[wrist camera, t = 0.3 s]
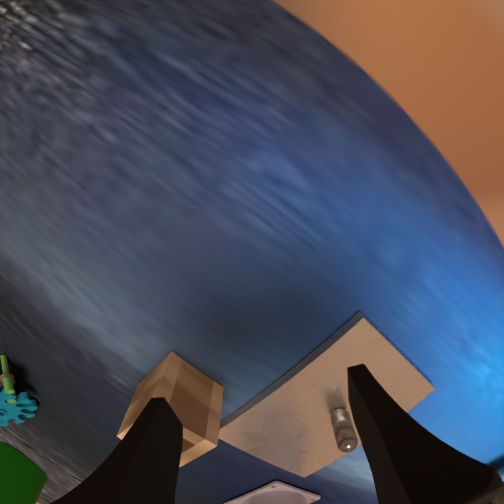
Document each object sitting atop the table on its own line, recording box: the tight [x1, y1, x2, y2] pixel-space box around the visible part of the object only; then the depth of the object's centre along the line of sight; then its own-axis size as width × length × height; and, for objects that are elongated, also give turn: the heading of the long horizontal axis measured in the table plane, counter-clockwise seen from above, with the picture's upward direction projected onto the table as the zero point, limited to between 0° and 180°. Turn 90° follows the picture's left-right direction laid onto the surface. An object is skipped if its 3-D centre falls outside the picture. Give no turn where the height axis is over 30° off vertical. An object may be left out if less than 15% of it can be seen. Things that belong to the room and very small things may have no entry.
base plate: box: [218, 311, 435, 477], centre depth 21 cm, size 16×12×5 cm
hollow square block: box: [117, 352, 224, 467], centre depth 20 cm, size 5×5×6 cm
